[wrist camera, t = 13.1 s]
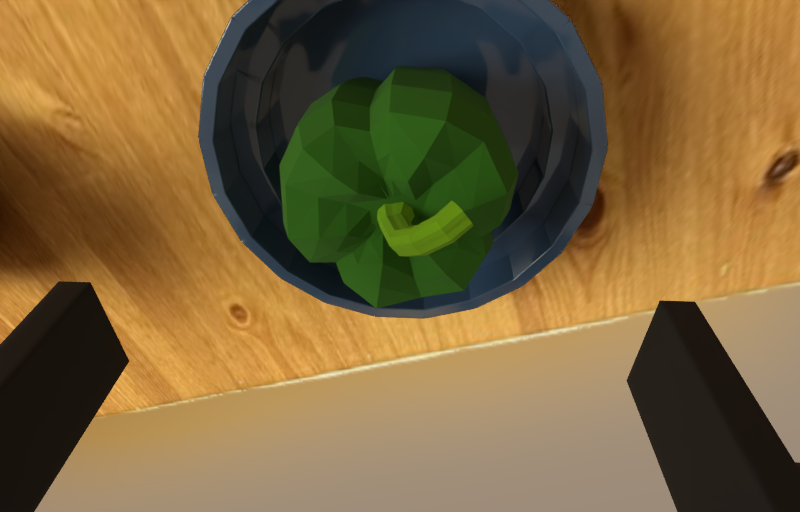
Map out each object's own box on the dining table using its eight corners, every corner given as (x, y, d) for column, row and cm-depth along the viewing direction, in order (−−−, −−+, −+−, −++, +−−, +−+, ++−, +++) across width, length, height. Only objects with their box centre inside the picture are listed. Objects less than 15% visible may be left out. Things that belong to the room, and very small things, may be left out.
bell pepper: (349, 226, 26) (309, 377, 18) (287, 67, 21) (197, 174, 13) (512, 192, 24) (550, 343, 16) (483, 13, 20) (516, 98, 12)
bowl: (266, 257, 28) (241, 312, 25) (201, -72, 19) (146, -63, 15) (546, 267, 27) (562, 324, 24) (618, -72, 18) (663, -62, 15)
